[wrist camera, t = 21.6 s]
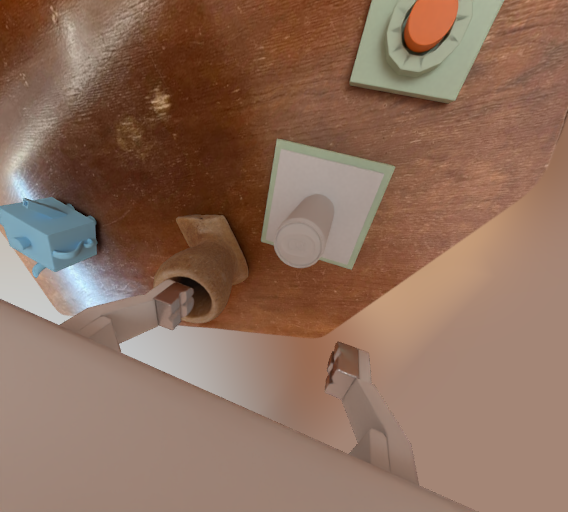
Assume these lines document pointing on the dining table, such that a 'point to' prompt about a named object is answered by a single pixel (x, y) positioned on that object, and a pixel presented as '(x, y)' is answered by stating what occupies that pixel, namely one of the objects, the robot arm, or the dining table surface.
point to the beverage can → (305, 232)
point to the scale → (326, 194)
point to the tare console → (426, 65)
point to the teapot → (49, 233)
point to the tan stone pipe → (206, 265)
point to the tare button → (429, 23)
